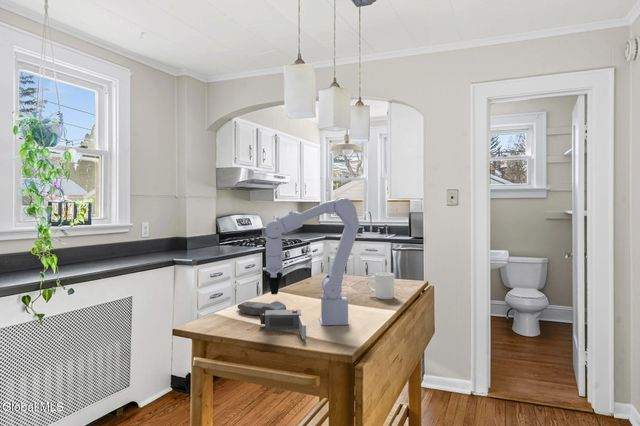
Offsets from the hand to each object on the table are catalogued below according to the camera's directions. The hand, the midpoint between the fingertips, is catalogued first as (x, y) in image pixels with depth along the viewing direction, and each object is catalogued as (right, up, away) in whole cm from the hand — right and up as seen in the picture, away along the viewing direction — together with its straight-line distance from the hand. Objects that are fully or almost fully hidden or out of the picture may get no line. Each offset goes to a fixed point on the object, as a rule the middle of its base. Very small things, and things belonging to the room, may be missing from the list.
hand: (274, 294), depth 151 cm
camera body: (+3, -11, -3) cm, 12 cm away
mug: (+42, -9, +39) cm, 58 cm away
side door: (+10, -11, -11) cm, 19 cm away
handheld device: (-7, -10, +13) cm, 18 cm away
